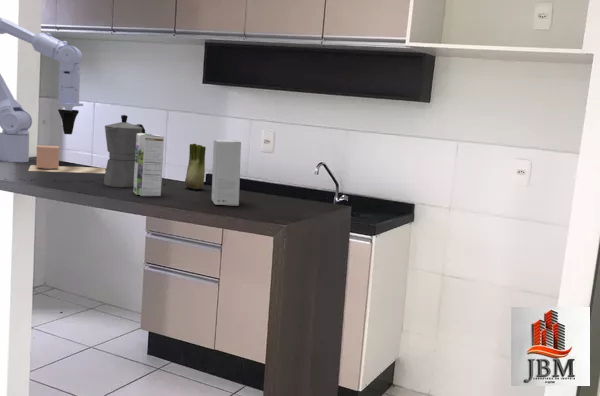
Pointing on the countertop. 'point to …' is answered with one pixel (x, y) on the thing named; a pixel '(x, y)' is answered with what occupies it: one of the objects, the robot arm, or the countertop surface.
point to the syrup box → (148, 164)
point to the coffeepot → (121, 153)
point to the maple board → (70, 169)
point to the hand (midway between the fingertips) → (67, 134)
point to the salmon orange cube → (47, 156)
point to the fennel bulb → (196, 167)
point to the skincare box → (226, 172)
